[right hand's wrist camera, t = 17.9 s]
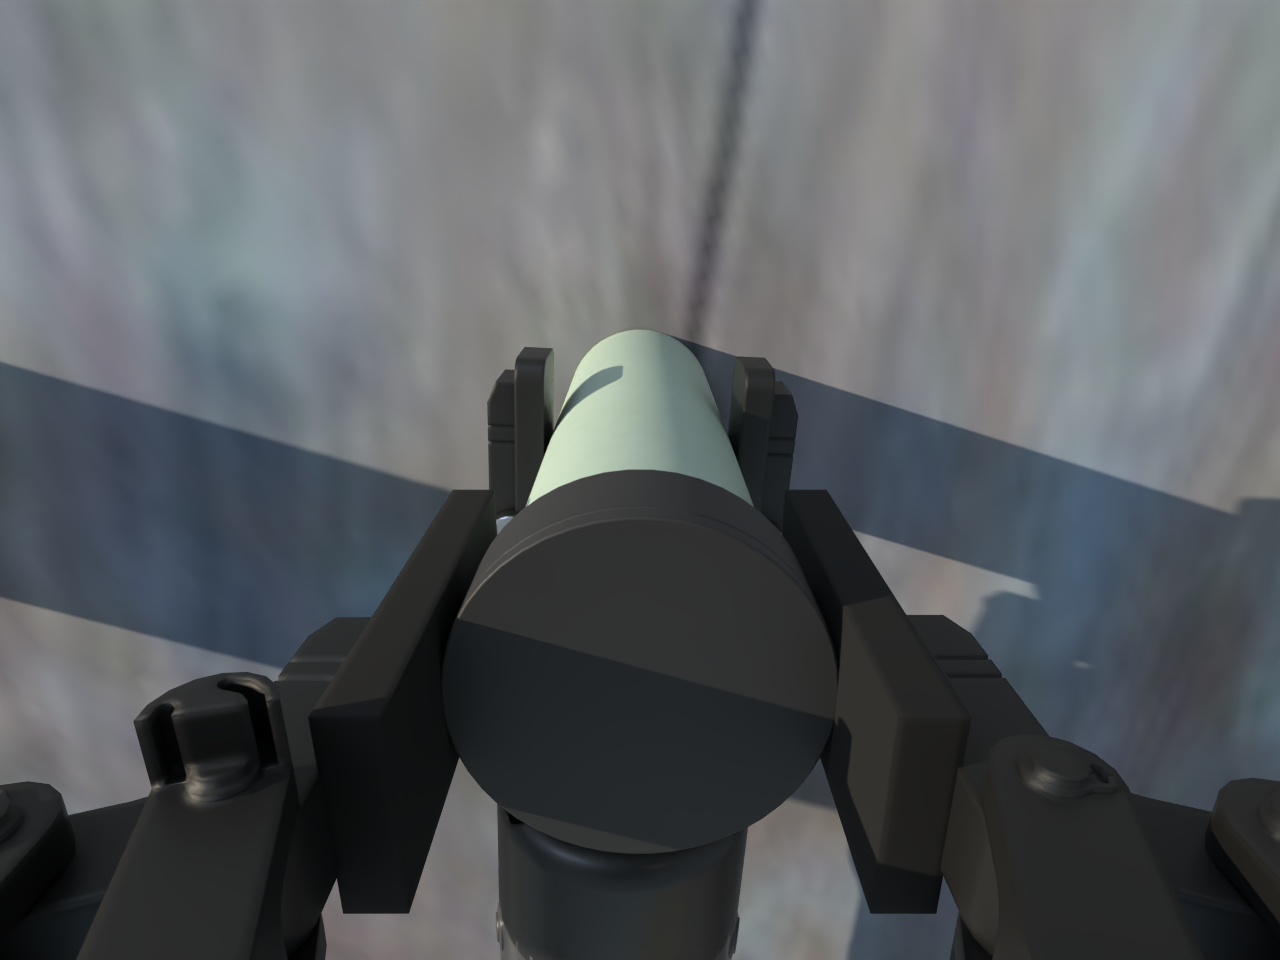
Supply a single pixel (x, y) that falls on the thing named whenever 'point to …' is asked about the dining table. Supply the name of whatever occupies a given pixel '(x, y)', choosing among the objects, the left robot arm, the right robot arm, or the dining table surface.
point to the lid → (639, 665)
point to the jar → (639, 417)
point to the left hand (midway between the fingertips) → (646, 361)
